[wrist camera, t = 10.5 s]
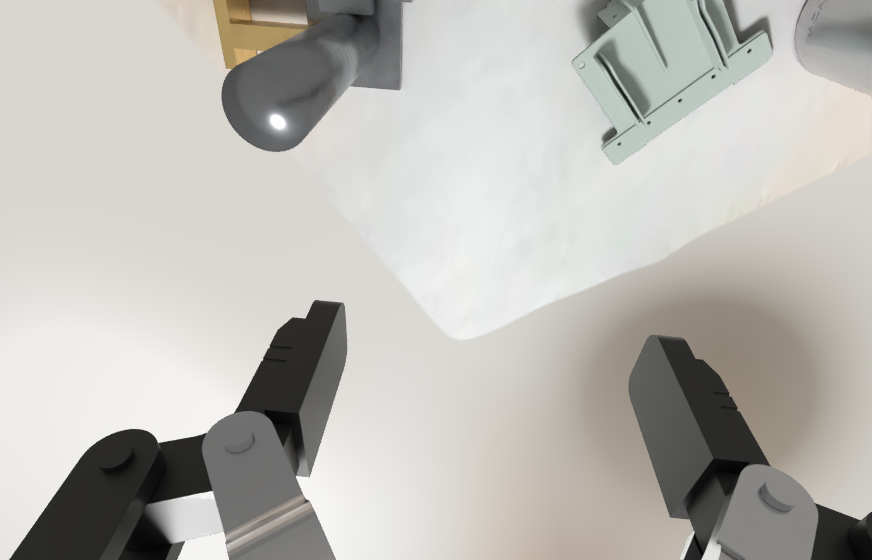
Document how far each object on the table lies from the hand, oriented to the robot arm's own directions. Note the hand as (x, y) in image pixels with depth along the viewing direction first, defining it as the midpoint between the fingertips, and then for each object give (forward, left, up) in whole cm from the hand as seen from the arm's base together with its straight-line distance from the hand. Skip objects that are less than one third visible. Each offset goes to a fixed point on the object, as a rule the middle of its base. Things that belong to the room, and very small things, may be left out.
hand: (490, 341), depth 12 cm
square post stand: (+13, -6, -36) cm, 39 cm away
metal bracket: (-15, -1, -37) cm, 40 cm away
